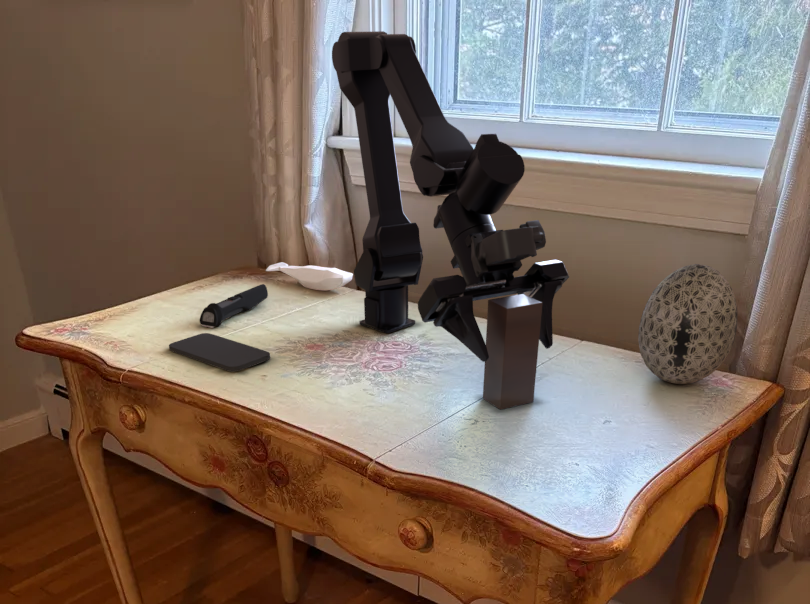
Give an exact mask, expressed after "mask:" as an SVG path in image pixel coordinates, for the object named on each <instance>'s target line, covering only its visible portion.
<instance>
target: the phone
mask: <svg viewBox="0 0 810 604" xmlns="http://www.w3.org/2000/svg"><path fill="white" fill-rule="evenodd" d="M168 347H169V351H170V352H173V353H175V354H179V355H180V356H183V357H187V358H190V359H192V360H195V361H199V362H201V363H204V364H206V365H210V366H213V367H216V368H219V369H221V370H224V371H228V372H235V373H236V372H239V371H243V370H245V369H248V368H251V367H253V366H256V365H258V364H261V363H263V362H267V361H269V360H270V359H271V353H270V352H269V351H267V350H264V349H261V348H258V347H255V346H251V345H248V344H245V343H242V342H239V341H236V340H232V339H229V338H226V337H223V336H220V335H216V334H213V333H209V332H202V333H198V334H196V335H193V336H189V337H187V338H183V339H180V340H177V341H174V342H171V343H169V344H168Z"/></svg>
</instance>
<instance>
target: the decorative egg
mask: <svg viewBox="0 0 810 604" xmlns="http://www.w3.org/2000/svg"><path fill="white" fill-rule="evenodd" d="M737 304H738V303H737V299H736V296H735V293H734V290H733V288H732V286H731V285H730V283H729V280H728V279H726V277H725V276H724V275H723V274H722V273H721V272H720V271H718V270H717V269H716V268H714V267H712V266H709V265H707V264H700V263H694V264H693V263H692V264H688V265H686V266H682V267H680V268H678V269H676V270H674V271H673V272H671V273H670V274H668V275H667V276H666V277H665V278H663V280H661V281H660V283H659V284H657V286H656V287H655V288H654V289H653V291H652V293H651V294H650V296H649V297H648V300H647V301H646V304H645V306H644V308H643V311H642V315H641V318H640V322H639V326H638V335H637V336H638V337H637V338H638V347H639V353H640V355H641V358H642V361H643V363H644V365H645V367H647V369H649V371H650V372H651V373H652V374H653V375H654V376H656V377H657V378H659V379H661V380H662V381H665V382H666V383H670V384H671V383H672V384H677V385H687V384H693V383H696V382H699V381H701V380H704V379H705V378H707V377H709V376H710V375H712V374H713V373H714V372H715V371H716V370H718V369H719V368H720V367H721V366H722V364H724V362H725V360H727V358H728V356H729V354H730V352H731V350H732V348H733V345H734V342H735V339H736V335H737V328H738V305H737Z"/></svg>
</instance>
